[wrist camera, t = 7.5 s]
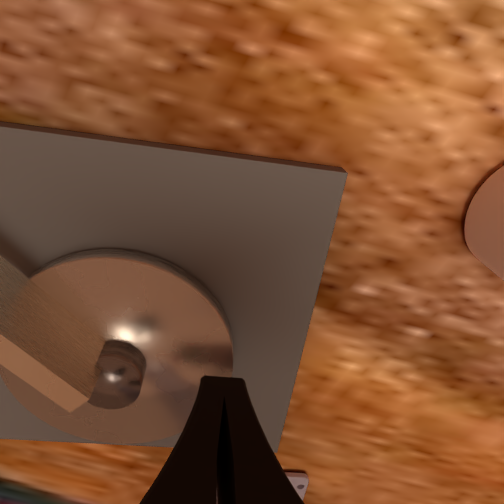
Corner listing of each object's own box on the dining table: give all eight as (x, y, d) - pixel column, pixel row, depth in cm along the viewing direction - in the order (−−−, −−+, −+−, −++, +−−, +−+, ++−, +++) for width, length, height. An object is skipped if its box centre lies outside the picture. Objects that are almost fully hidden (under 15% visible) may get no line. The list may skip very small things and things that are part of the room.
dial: (275, 358, 23) (288, 435, 18) (123, 454, 25) (100, 541, 21) (50, 128, 17) (-17, 155, 12) (-119, 286, 19) (-226, 357, 15)
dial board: (275, 439, 27) (277, 454, 26) (-54, 422, 25) (-66, 437, 24) (342, 167, 19) (348, 174, 18) (-135, 103, 17) (-159, 106, 16)
